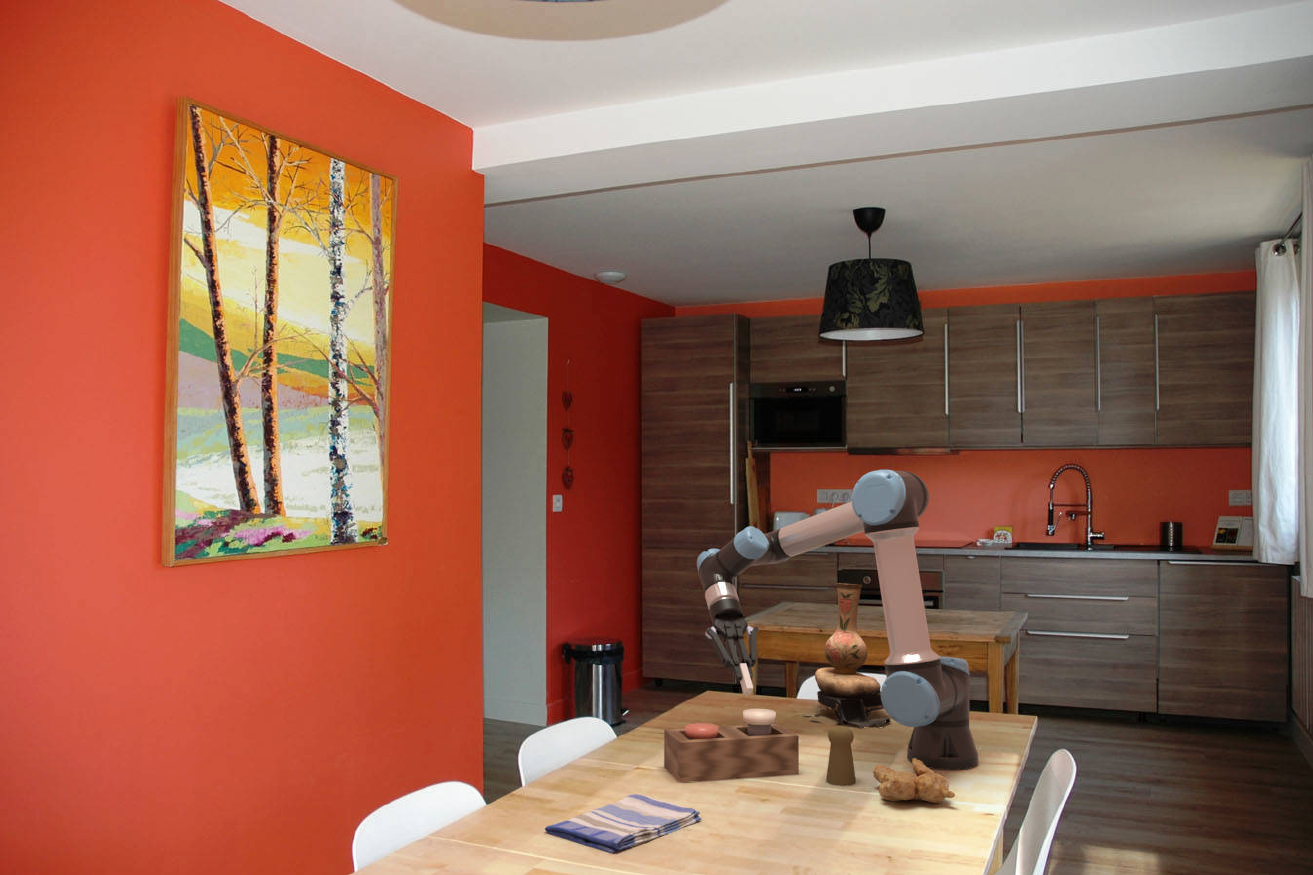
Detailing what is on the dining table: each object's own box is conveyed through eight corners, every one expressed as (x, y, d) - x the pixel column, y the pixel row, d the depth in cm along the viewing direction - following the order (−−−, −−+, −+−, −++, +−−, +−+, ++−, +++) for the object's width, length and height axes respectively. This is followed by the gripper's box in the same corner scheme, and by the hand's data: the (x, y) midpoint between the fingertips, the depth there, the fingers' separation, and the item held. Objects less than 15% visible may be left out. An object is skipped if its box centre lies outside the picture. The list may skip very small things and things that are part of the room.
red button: (712, 754, 220) (712, 721, 220) (722, 763, 213) (722, 729, 214) (680, 756, 218) (681, 723, 218) (690, 765, 211) (690, 731, 212)
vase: (906, 714, 274) (905, 583, 276) (878, 730, 255) (877, 589, 257) (823, 704, 286) (823, 578, 288) (791, 719, 267) (791, 584, 269)
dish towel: (704, 823, 184) (704, 807, 184) (616, 858, 166) (616, 841, 166) (632, 804, 195) (632, 789, 195) (542, 835, 177) (542, 818, 177)
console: (776, 759, 226) (776, 723, 227) (798, 774, 215) (798, 735, 215) (664, 767, 220) (664, 729, 220) (680, 782, 208) (680, 742, 208)
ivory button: (768, 740, 224) (768, 707, 224) (780, 747, 217) (780, 714, 217) (738, 742, 222) (738, 709, 222) (749, 749, 215) (749, 716, 215)
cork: (855, 786, 206) (855, 731, 207) (825, 784, 207) (825, 729, 208) (856, 778, 212) (855, 724, 213) (826, 776, 213) (826, 723, 214)
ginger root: (955, 809, 187) (944, 765, 189) (870, 820, 193) (860, 777, 194) (961, 789, 202) (950, 748, 203) (882, 800, 207) (872, 760, 208)
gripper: (746, 615, 246) (771, 700, 229) (694, 617, 242) (716, 702, 225) (754, 595, 241) (780, 680, 224) (701, 596, 237) (724, 682, 220)
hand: (748, 691), depth 224 cm, fingers closed
